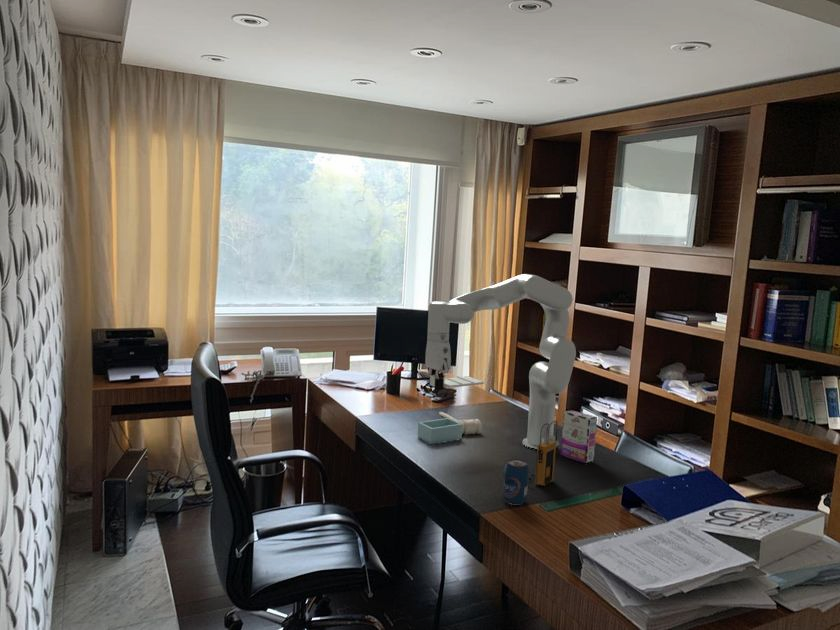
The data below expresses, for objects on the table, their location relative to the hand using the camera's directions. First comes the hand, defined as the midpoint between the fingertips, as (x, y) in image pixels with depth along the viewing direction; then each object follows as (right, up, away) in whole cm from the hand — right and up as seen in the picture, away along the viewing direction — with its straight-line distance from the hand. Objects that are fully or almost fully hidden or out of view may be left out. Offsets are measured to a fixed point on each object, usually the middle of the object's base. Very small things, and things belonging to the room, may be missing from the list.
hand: (436, 387), depth 222 cm
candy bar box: (+50, -26, +1) cm, 56 cm away
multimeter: (+31, -27, -21) cm, 46 cm away
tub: (+2, -21, +17) cm, 27 cm away
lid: (+7, +1, +4) cm, 8 cm away
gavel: (+9, -20, +37) cm, 42 cm away
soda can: (+22, -29, -38) cm, 53 cm away
